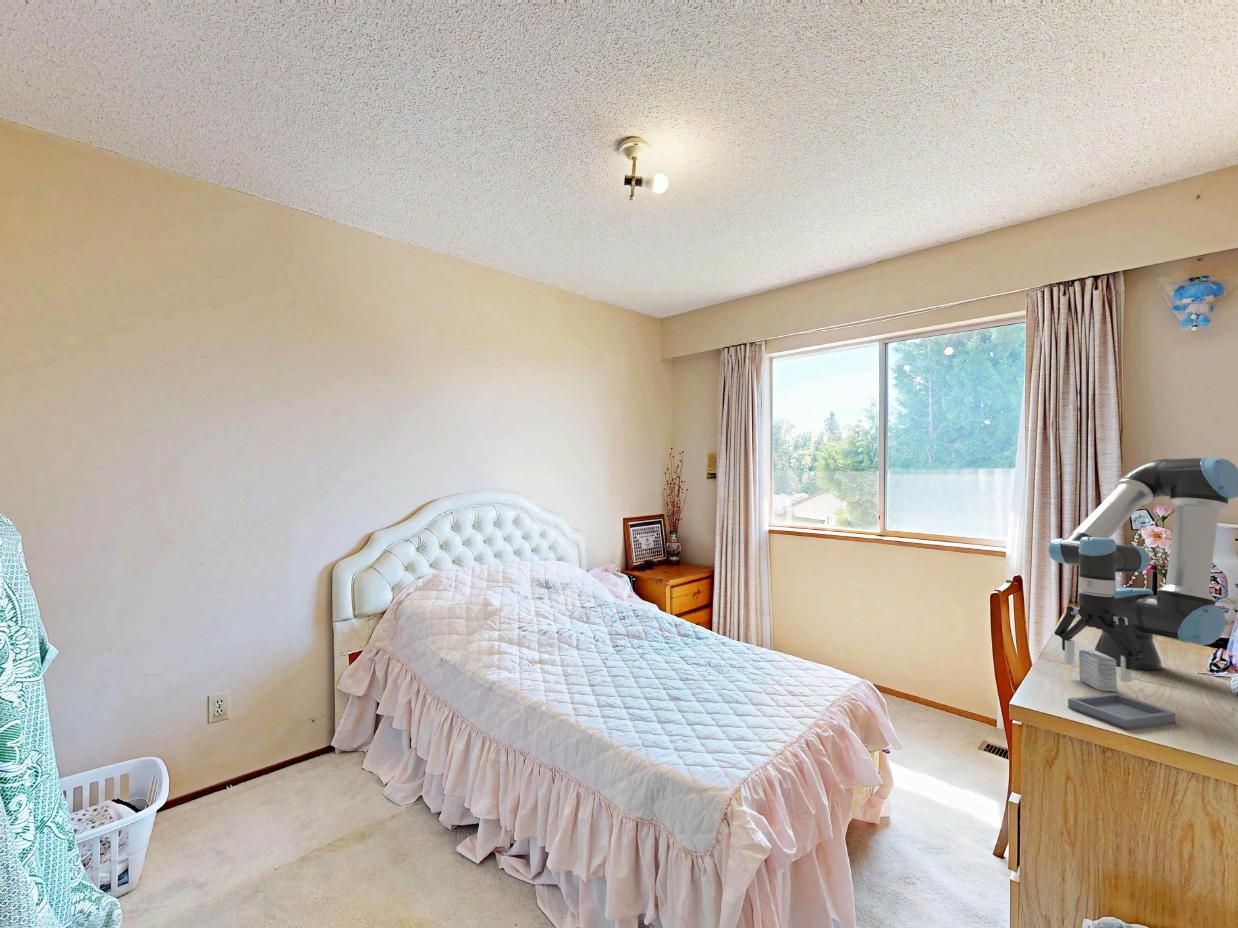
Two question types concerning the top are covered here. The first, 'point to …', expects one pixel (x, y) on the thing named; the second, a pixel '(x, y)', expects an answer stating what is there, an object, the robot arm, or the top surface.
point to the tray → (1122, 711)
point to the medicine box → (1098, 670)
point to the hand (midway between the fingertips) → (1096, 672)
